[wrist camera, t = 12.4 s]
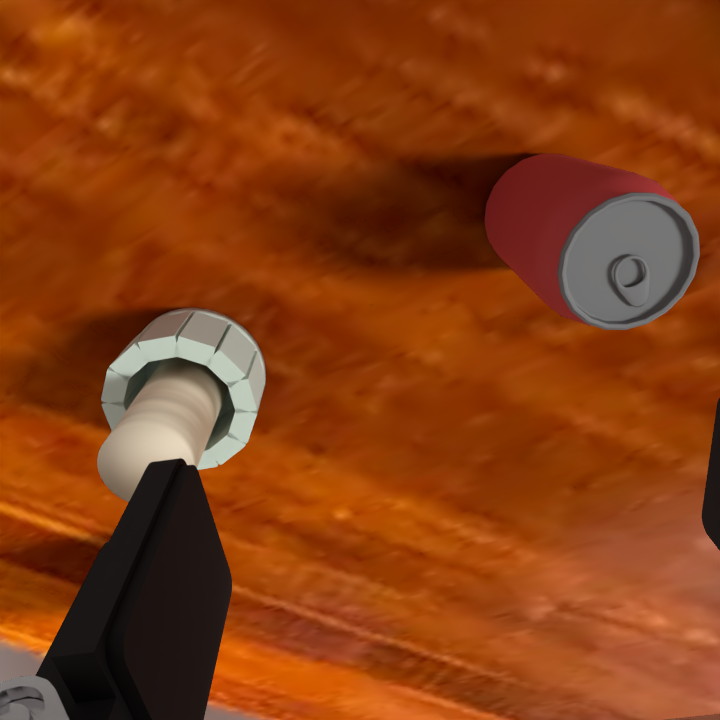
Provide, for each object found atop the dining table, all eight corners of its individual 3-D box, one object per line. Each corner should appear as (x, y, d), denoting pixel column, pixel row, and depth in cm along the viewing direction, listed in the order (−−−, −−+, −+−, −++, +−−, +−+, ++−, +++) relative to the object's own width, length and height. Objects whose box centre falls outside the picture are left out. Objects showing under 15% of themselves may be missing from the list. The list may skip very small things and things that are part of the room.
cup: (113, 320, 36) (79, 352, 32) (246, 296, 36) (232, 325, 31) (156, 436, 40) (131, 480, 35) (279, 415, 39) (270, 457, 35)
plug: (149, 350, 36) (83, 435, 27) (219, 338, 36) (176, 419, 27) (171, 413, 38) (116, 512, 29) (238, 401, 38) (204, 498, 29)
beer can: (504, 285, 36) (574, 367, 25) (464, 185, 34) (523, 226, 23) (609, 238, 35) (730, 301, 24) (576, 130, 33) (693, 146, 22)
